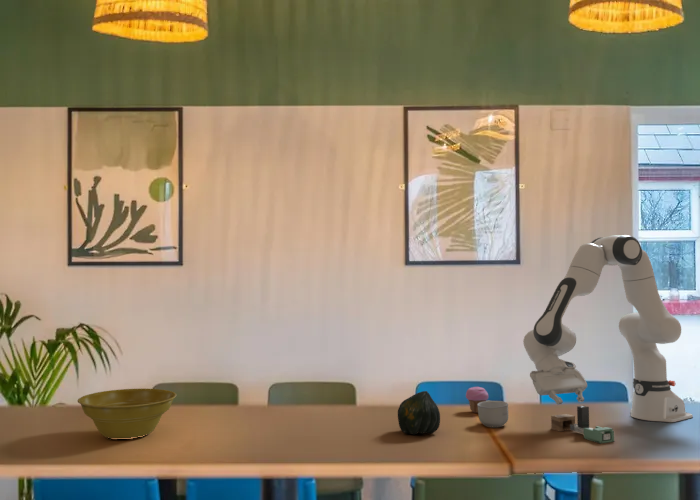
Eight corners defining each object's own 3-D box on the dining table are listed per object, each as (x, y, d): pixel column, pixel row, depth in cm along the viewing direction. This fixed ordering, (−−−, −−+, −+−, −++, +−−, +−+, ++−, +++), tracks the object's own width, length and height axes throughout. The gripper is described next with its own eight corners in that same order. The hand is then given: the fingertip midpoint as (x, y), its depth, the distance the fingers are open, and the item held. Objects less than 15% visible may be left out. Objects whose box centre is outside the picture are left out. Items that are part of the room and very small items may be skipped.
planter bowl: (194, 434, 219) (194, 395, 220) (104, 454, 196) (105, 410, 196) (146, 420, 241) (147, 384, 242) (60, 436, 218) (61, 397, 218)
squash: (382, 416, 220) (405, 386, 214) (409, 411, 231) (431, 382, 225) (406, 449, 212) (431, 419, 206) (432, 442, 223) (457, 414, 217)
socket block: (567, 426, 225) (566, 413, 225) (575, 429, 221) (574, 416, 222) (551, 428, 222) (551, 415, 223) (559, 431, 219) (559, 418, 219)
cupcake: (490, 414, 246) (490, 388, 247) (468, 414, 246) (467, 388, 247) (486, 409, 255) (485, 384, 255) (464, 409, 255) (464, 384, 256)
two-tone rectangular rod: (576, 429, 218) (576, 403, 218) (610, 439, 204) (609, 412, 205) (570, 429, 217) (569, 404, 217) (603, 440, 203) (602, 412, 203)
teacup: (509, 429, 222) (508, 406, 222) (477, 428, 224) (477, 405, 224) (507, 420, 235) (507, 399, 236) (477, 419, 237) (477, 398, 238)
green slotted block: (597, 436, 211) (597, 424, 211) (614, 441, 205) (613, 428, 205) (583, 438, 209) (583, 426, 209) (599, 443, 202) (599, 430, 203)
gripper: (531, 365, 222) (551, 399, 212) (577, 362, 230) (598, 394, 220) (523, 377, 226) (542, 410, 216) (569, 373, 234) (589, 405, 224)
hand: (571, 402), depth 218 cm, fingers open, 8 cm apart
